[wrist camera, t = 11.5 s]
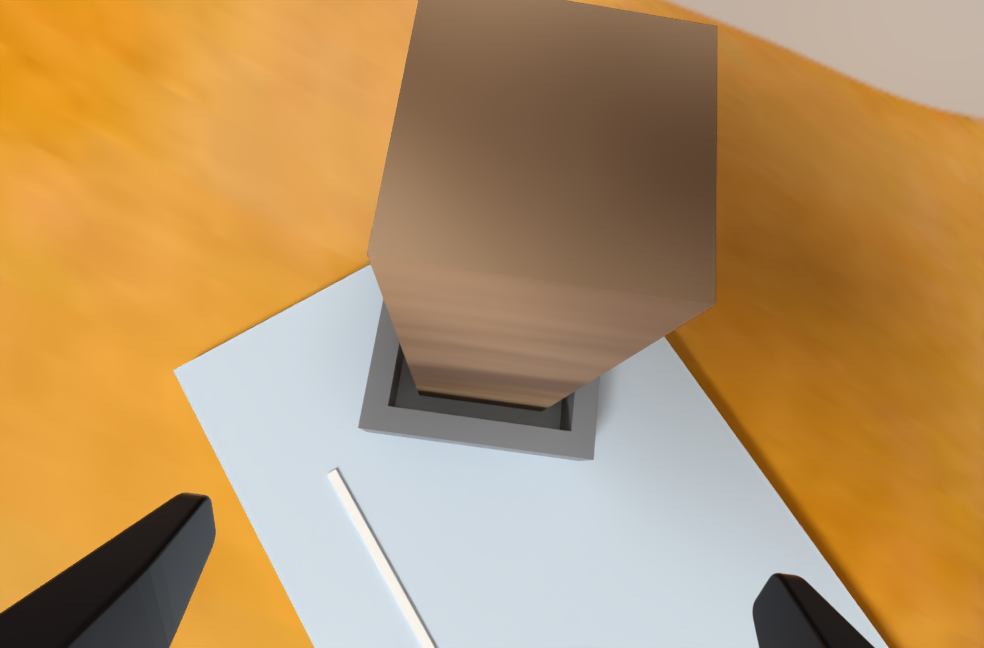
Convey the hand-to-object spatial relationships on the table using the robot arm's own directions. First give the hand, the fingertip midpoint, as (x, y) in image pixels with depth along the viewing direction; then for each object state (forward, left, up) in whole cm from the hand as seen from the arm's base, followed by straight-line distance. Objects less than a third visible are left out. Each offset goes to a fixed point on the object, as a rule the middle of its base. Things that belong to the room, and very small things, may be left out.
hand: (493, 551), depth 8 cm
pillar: (+5, -4, -10) cm, 12 cm away
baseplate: (-2, -2, -11) cm, 11 cm away
